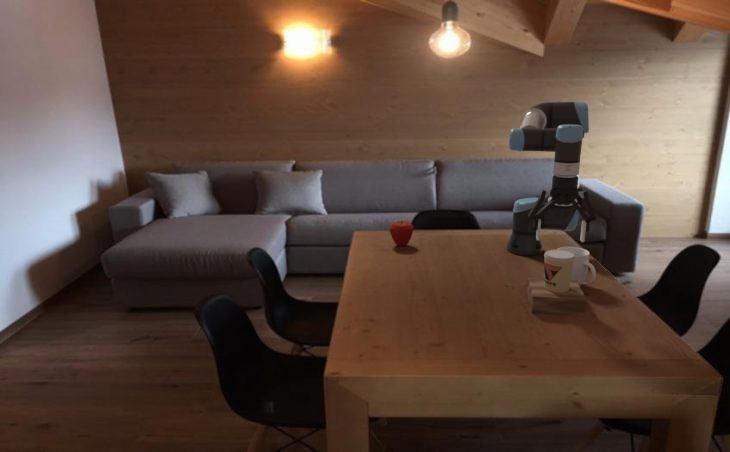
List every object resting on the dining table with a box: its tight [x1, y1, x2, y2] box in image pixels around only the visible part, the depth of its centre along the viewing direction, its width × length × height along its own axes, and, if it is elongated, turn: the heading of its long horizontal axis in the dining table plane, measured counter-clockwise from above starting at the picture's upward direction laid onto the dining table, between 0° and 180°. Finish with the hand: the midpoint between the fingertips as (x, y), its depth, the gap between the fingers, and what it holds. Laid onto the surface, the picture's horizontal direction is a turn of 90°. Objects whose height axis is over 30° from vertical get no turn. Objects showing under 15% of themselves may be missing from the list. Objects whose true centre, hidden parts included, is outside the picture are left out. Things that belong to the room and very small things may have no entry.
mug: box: [556, 246, 597, 287], centre depth 180 cm, size 15×11×13 cm
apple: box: [389, 220, 414, 247], centre depth 230 cm, size 11×11×12 cm
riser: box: [526, 277, 587, 318], centre depth 166 cm, size 16×16×6 cm
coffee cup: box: [543, 249, 575, 293], centre depth 164 cm, size 9×9×12 cm
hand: (559, 240), depth 161 cm, fingers open, 13 cm apart
